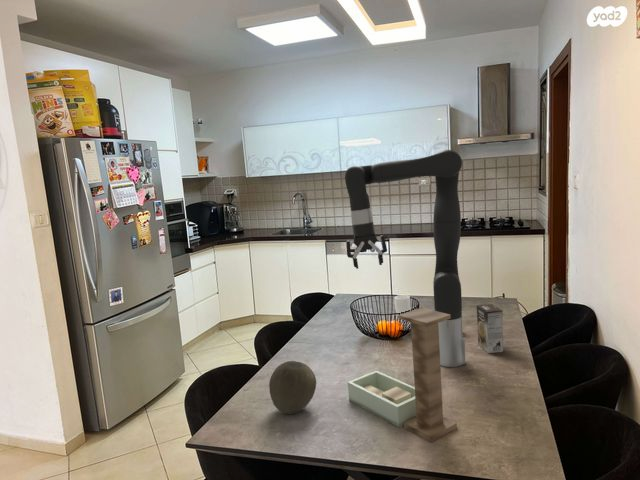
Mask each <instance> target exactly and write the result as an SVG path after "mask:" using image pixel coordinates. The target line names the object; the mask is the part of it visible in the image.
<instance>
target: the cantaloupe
mask: <svg viewBox="0 0 640 480" xmlns="http://www.w3.org/2000/svg"><path fill="white" fill-rule="evenodd" d="M268 386H269V387H268V388H269V395H270V399H271V401H272V403H273V406H274V407H275V408H276V409H277V410H278V411H279V412H281V413H285V414H288V415H291V414H296V413H299V412H301V411H302V410H303V409H305V408H306V407H307V406H308V405H310V404H309V403H310V402H311V401H312V400H313V397H314V395H315V392H316V388H317V387H316V386H317V378H316V375H315V373H314V371H313V369H312V368H311V367H310V366H308V365H307V364H306V363H304V362H301V361H295V360H289V361H285V362H283V363H280V364H279V365H277V367H276V368H275V369H274V370H273V372H272V374H271V377H270V378H269V384H268Z"/></svg>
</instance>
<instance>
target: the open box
mask: <svg viewBox="0 0 640 480" xmlns="http://www.w3.org/2000/svg"><path fill="white" fill-rule="evenodd" d="M367 385H371V386H373V387H375V388H377V389H379V390H381V391H383V392H385V391H388V390H390V389H392V388H395V387H399V388H401V389H403V390H405V391H407V392H409V393H411V398H410V399H408V400H406V401H404V402H402V403H400V404H398V405H397V404H395V403H393V402H391V401H389V400H387V399H385V398H383V397H381V396H379V395H377V394H375V393H373V392H371V391H369V390H367V389H365V388H363V387H364V386H367ZM347 390H348V391H347V392H348V400H349V401H350V402H351V403H353V404H355V405H357V406H358V407H360V408H363V409H364V410H366V411H368V412H370V413H371V414H374V415H376V416H377V417H379V418H381V419H382V420H385V421H386V422H388V423H390V424H392V425H393V426H396V428H397V427H398V428H400V427H402V426H404V422H405V421H407V420H409V419H411V418H413V417H415V416H416V401H415V386H413V385H410V384H408V383H406V382H404V381H402V380H399V379H397V378H394V377H393V376H390V375H388V374H385V373H384V372H381V371H378V370H375V371H373V372H369V373H367V374H365V375H362V376H359V377H357V378H354V379H352V380H350V381H347Z"/></svg>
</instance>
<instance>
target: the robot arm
mask: <svg viewBox="0 0 640 480" xmlns="http://www.w3.org/2000/svg"><path fill="white" fill-rule="evenodd" d="M462 166H463V161H462V158H461V156H460V154H459V153H458V151H457V152H456V151H455V150H452V149H445V150H442V151H441V150H440V152H438V153H435V154H431V155H427V156H424V157H419V158H411V159H398V160H391V161H390V160H389V161H383V162H377V163H374V164H370V165H369V164H367V165H352V166H350V167H349V168H347V169H346V171H345V173H344V181H345V187H346V191H347V193H348V198H349V205H350V206H349V207H350V217H351V219H350V220H351V225H352V233H353V240H346V241H345V244H346V245H345V246H346V255H347V257H348V258H351V259H352V263H353V267H354V268H356V269H357V270H358V269H359V264H358V263H359V262H358V257H357V256H359V253H360V252H361V251H362V252H364V251H365V252H366V251H367V250H368V251H371V250H372V249H374V250H375V251H376V252H377V259H378V265H379V266H382V265H383V263H384V258H383V257H384V256H383V254H384V253H387V251H388V249H387V244H386V237H385V236H384V235H380V236H376V231H375V226H374V219H373V213H372V208H371V203H370V197H369V193H368V192H367V185H371V184H384V183H391V182H398V181H403V180H407V179H409V180H410V179H413V178H414V179H415V178H420V177H422V178H423V177H434V178H435V200H434V206H433V224H432V226H433V228H432V229H433V230H432V232H433V243H434V249H435V267H434V277H433V281H432V283H433V284H432V285H433V302H434V303H433V304H434V309H433V310H434V311H438V312H442V313H446V314H450V315H451V318H450V319H447V320H445V321H442V322H439V323H438V327H439V347H440V366H441V367H442V366H443V367H446V368H455V367H461V366H463V365H466V343H465V342H466V341H465V337H464V336H463V316H462V315H463V313H462V312H463V311H462V310H463V306H462V305H463V304H462V302H463V300H462V284H461V281H460V275H459V268H458V267H459V266H458V252H459V248H460V247H459V246H460V242H461V233H462V232H461V230H462V226H461V225H462V215H461V205H460V198H459V191H458V189H459V187H458V186H459V175H460V171H461V169H462ZM377 241H378V242H380V243H381V249H380V248H379V247H378V246H377V245H376V243H377ZM353 245H355V246H356V247H355V250H354V252H353V253H352V252H351V251H352V250H351V248H352V246H353Z"/></svg>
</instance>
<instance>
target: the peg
mask: <svg viewBox="0 0 640 480" xmlns="http://www.w3.org/2000/svg"><path fill="white" fill-rule="evenodd" d="M363 388H365V389H367V390H369V391H371V392H373V393H375V394H377V395H379V396H381V397H383V398H385V399H387V400H389V401H391V402H393V403H395V404H397V405H398V404H400V403H402V402H404V401H406V400H408V399H410V398H411V393H409V392H407V391H405V390H403V389H401V388H399V387H395V388H392V389H390V390H388V391H385V392H383V391H381V390H379V389H377V388H375V387H373V386H371V385H367V386H364V387H363Z"/></svg>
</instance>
